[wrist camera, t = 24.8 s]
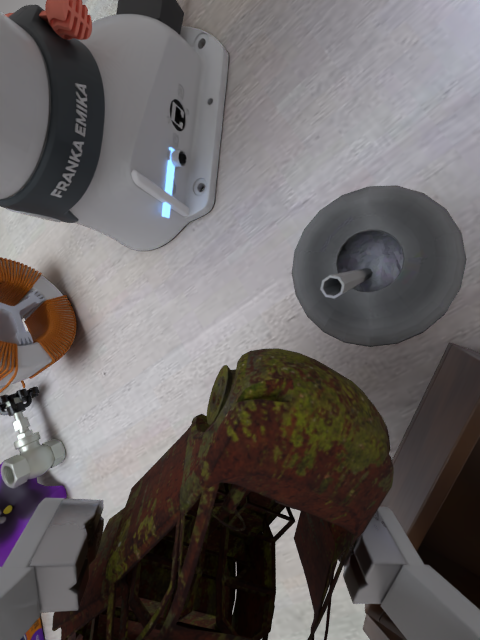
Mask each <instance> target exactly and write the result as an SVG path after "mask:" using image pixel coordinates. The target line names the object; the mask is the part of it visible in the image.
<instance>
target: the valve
mask: <svg viewBox="0 0 480 640" xmlns="http://www.w3.org/2000/svg"><path fill="white" fill-rule="evenodd" d="M38 393H39V390H38V387H33V388H30V389H29V390H27V391H26V389H22V390H18V391H17V392H16V393H15V394H12V395H3V396H0V414H1V415H9V416H13V415H14V418H15V422H13V425H14V428H15V431H16V432H17V431H19V435H18V436H17V437H18V441H16V442H14V446H15V449H19V451H20V455H15V456H13V457H11V458H9V459H7V460H4V462H3V464H2V466H1V475H2V479H3V481H4V483H5V484H6V485H7V486H8V487H10V488H16V487H18V486H19V485H21V484H23V483H25V482H27V480H28V479H33V478H37V477H39V476H41V475H43V474H44V473H45V472H46V471H47V470H48V469H49V468H53V467H55V466H57V465H58V464H60V463H62V461H63V460H64V458H65V448H64V446H63V444H62V443H61V441H59V440H57V439H51V440H49V441H47V442H44V443H42V445H40V443H39V439H40V435H39V432H36V433H34V434H33V432H32V430H29V428H28V427H29V426H30V424H29V421H28V418H27V417H25V418H24V416H23V414H22V412H23V411H25V410H26V409H25V408H26V407H28V406H29V405H30V404H31V402H32V398H34V397H36V396H38ZM31 396H32V398H31ZM26 401H27V403H26V404H24V402H26ZM4 409H7V411H5V410H4Z"/></svg>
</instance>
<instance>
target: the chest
mask: <svg viewBox="0 0 480 640" xmlns="http://www.w3.org/2000/svg"><path fill="white" fill-rule="evenodd" d="M392 464H393V467H394V475H393V483H392V487H391V489H390V490H389V492H388V494H387V495H386V497H385V498H384V500H383V502H382V503H381V505H380V506H379V507H388V508H389V509H391V510H392V512H393V513H394V515H395V517H396V518H397V520H398V522H399V523H400V525H401V527H402V528H403V530H404V532H405V533H406V535H407V537H408V538H409V540H410V542H411V543H412V545H413V547H414V548H415V550H416V552H417V553H418V555H419V557H420V558H421V560H422V562H423V563H424V565H430V566H431V567H432V568H433V569H434V570H435V571H436V572H438V573H439V574H440V575H441V576H442V577H443V578H444V579H446V580H447V581H448V582H449V583H450V584H451V585H452V586H453V587H455V588H456V589H457V590H458V591H459V592H460V593H461V594H463V595H464V596H465V597H466V598H467V599H468V600H469V601H471V602H472V603H473V604H474V605H475V606H476V607H477V608H478V609H480V353H479V352H476V351H473V350H470V349H467V348H464V347H461V346H459V345H456V344H453V343H449V345H448V347H447V349H446V351H445V353H444V355H443V357H442V359H441V361H440V363H439V365H438V367H437V369H436V371H435V373H434V376H433V378H432V380H431V382H430V384H429V386H428V388H427V390H426V392H425V394H424V396H423V398H422V400H421V402H420V404H419V406H418V409H417V411H416V413H415V415H414V417H413V419H412V421H411V423H410V425H409V427H408V429H407V431H406V433H405V435H404V437H403V439H402V442H401V444H400V446H399V448H398V450H397V452H396V454H395V456H394V458H393V460H392ZM380 605H381V604H365V613H366V614H368V615H370V616H371V617H373V618H374V619H375V620H377V621H378V622H380V623H381V624H383V625H384V626H385V627H387V628H388V629H390V630H391V631H392V632H394V633H395V634H397V635H398V636H400V637H401V638H402V639H404V640H407V639H406V638H405V636H404V635H403V634H402V633H401V631H400V630H399V629H398V628H397V626H396V625H395V624H394V622H393V621H392V620H391V619H390V617H389V616H388V615H387V614H386V612H385V611H384V610H383V609H382V607H381V606H380Z"/></svg>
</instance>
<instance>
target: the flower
mask: <svg viewBox="0 0 480 640" xmlns="http://www.w3.org/2000/svg"><path fill="white" fill-rule="evenodd" d="M3 462H4V461H3ZM3 462H2V464H3ZM2 464H1V465H0V567H2V566H3V565H4V563H5V561H6V559H7V558H8V556H9V554H10V553H11V551H12V549H13V548H14V546H15V544H16V542H17V541H18V539H19V537H20V536H21V534H22V532H23V531H24V529H25V527H26V525H27V524H28V522H29V520H30V519H31V517H32V515H33V514H34V512H35V510H36V508H37V507H38V505H39V504H40V503H41V502H42V500H43V499H44V498H66V497H67V495H66V490H65V488H64V487H63V486H44V485H41V484H39V483H37V478H33V479H28V480H27V482H25V483H23V484H21V485H19V486H18V487H16V488H10V487H8V486H7V485H6V484H5V483H4V481H3V479H2V475H1V466H2Z"/></svg>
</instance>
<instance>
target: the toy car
mask: <svg viewBox="0 0 480 640" xmlns="http://www.w3.org/2000/svg"><path fill="white" fill-rule="evenodd" d="M389 452H390V442H389V435H388V430H387V426H386V424H385V422H384V420H383V418H382V416H381V415H380V413H379V412H378V411H377V409H376V408H375V406H374V405H373V404H372V403H371V401H370V400H369V399H368V397H367V396H366V395H365V394H364V392H363V391H362V390H361V389H360V388H359V387H358V386H357V385H355V384H354V383H353V382H352V381H351V380H349V379H347V378H346V377H344V376H342V375H341V374H339V373H337V372H336V371H334V370H332V369H331V368H329V367H327V366H326V365H324V364H322V363H320V362H318V361H317V360H315V359H312V358H310V357H307V356H305V355H302V354H300V353H296V352H292V351H287V350H282V349H261V350H254V351H250V352H247V353H246V354H244V355H242V356H241V358H240V359H239V361H238V363H237V369H236V370H230V369H229V368H228V366H227V365H224V366H223V367H222V369H221V370H220V372H219V374H218V376H217V378H216V380H215V383H214V386H213V388H212V392H211V395H210V399H209V404H208V409H207V416H205V415H203V414H200V415H198V416H196V417H195V418H193V421H192V424H191V426H190V427H189V429H188V430H187V431H186V432H185V433H184V434H183V435H182V436H181V437H180V439H179V440H178V441H177V442H176V443H175V444H174V445H173V446H172V447H171V448H170V449H169V450H168V451H167V452H166V453H165V454H164V455H163V456H162V457H161V458H160V459H159V460H158V461H157V462H156V464H155V465H154V466H153V467H152V468H151V469H150V470H149V471H148V472H147V473H146V474H145V475H144V476H143V477H142V478H141V479H140V480H139V481H138V482H137V483H136V484H135V485H134V486H133V487H132V489H131V492H130V495H129V498H128V501H127V504H126V506H125V508H124V509H122V510H121V511H120V512H118V513H117V514H116V515H114V516H113V517H112V518H111V519H109V521H108V523H107V525H106V528H105V530H104V532H103V534H102V538H101V542H100V546H99V549H98V552H97V555H96V559H95V560H94V561H93V562H92V563H91V564H90V565H89V580H88V582H87V585H86V588H85V591H84V594H83V597H82V600H81V603H80V606H79V609H78V610H77V611H59V612H55V613H54V616H53V628H52V630H53V631H55V630H57V629H58V628H60V627H61V629H62V633H61V640H260V639H262V640H268V633H269V632H270V631H271V624H272V619H273V613H274V608H275V606H274V602H275V595H276V568H275V542H276V541H277V540H278V539H279V538H280V537H281V536H282V535H283V534H284V533H285V532H286V531H287V529H288V528H289V527H290V526H291V525H292V524H293V523H294V522H295V519H294V517H293V515H292V512H291V510H290V508H293V509H297V510H300V511H301V513H300V517H299V520H298V524H297V528H296V532H295V536H294V540H295V543H296V547H297V550H298V553H299V556H300V560H301V563H302V566H303V569H304V573H305V576H306V580H307V584H308V588H309V592H310V596H311V600H312V605H313V609H314V620H313V623H312V626H311V634H310V636H309V638H308V640H314V633H315V631H316V629H317V627H318V625H319V623H320V621H321V619H322V617H323V615H324V613H325V611H326V608H327V606H328V610H327V621H326V630H325V637H324V640H327V634H328V627H329V617H330V607H331V597H332V593H333V590H334V588H335V585H336V583H337V580H338V578H339V575H340V572H341V570H342V567H343V565H344V562H345V560H346V557H347V554H348V552H349V549H350V547H351V545H352V544H353V543H354V542H355V541H356V540H357V538H358V537H359V536H360V535H361V534H362V533H363V532H364V531H365V529H366V528H367V526H368V524H369V523H370V521H371V519H372V518H373V516H374V515H375V513H376V511H377V510H378V508H379V506H380V505H381V503H382V502H383V500H384V498H385V497H386V495H387V494H388V492H389V490H390V489H391V487H392V483H393V475H394V467H393V464H392V460H391V457H390V455H389ZM285 507H286V509H287V512H288V514H289V516H290V517H288V516H286V515H283V514H280V513H281V511H282V510H283V509H284V508H285ZM277 516H278V517H280V518H283V519H286V520H288V521H289V522H288V523H287V524H286V525H285V526H284V527H283V528H282V529H281V530H280V531H279V532H278V533H277V534H276V535H275V536H274V537H273V535H272V532H271V530H270V527H269V525H270V524H271V523H272V521H273V520H274V519H275V518H276V517H277ZM262 532H263V533H262ZM343 553H344V554H343ZM342 554H343V557H342V559H341V562H340V564H339V567H338V569H337V572H336V574H335V577H334V570H335V567H336V565H337V560H338V559H339V558H340V557H341V555H342ZM235 562H236V564H237V576H236V564H235ZM333 577H334V579H333ZM329 585H330V588H329ZM328 588H329V592H328V594H327V596H326V593H327V590H328ZM235 589H237V592H236V601H235ZM325 596H326V599H325ZM324 599H325V601H324ZM234 601H235V606H234ZM323 602H324V604H323ZM322 605H323V606H322ZM233 606H234V612H233V615H232V610H233Z"/></svg>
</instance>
